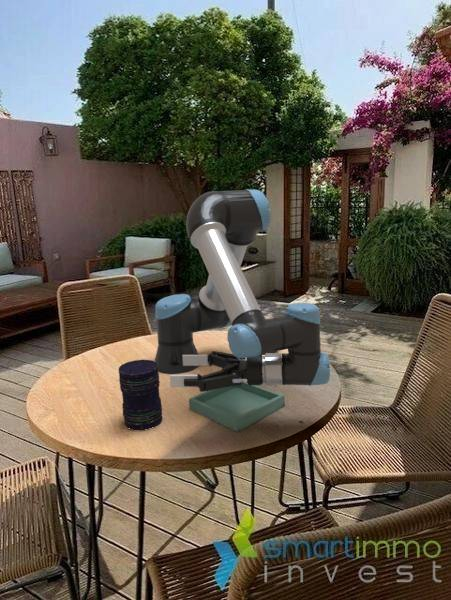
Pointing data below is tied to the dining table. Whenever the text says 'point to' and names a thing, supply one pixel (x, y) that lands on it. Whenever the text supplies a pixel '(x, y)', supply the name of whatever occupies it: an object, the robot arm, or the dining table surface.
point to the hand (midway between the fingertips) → (177, 370)
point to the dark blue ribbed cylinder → (140, 394)
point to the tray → (237, 404)
